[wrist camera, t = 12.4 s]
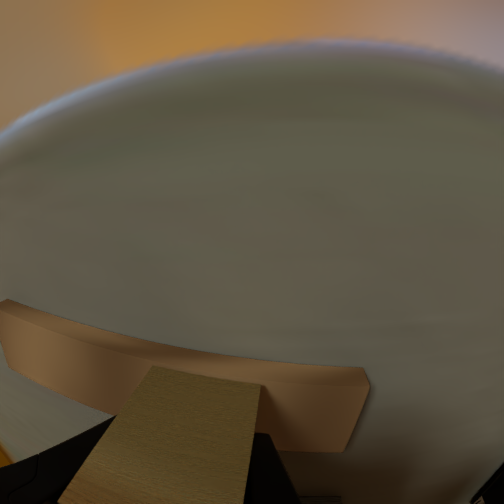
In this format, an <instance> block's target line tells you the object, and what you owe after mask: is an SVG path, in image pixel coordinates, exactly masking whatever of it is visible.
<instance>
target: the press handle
mask: <svg viewBox="0 0 504 504" xmlns="http://www.w3.org/2000/svg"><path fill="white" fill-rule="evenodd" d="M260 388H261V384H254V383H246V382H239V381H232V380H226V379H220V378H214V377H208V376H202V375H197V374H192V373H186V372H181V371H177V370H172V369H167V368H163V367H159V366H154V365H152V367H151V368H150V370H149V371H148V372H147V374H146V375H145V377H144V378H143V379H142V381H141V382H140V384H139V385H138V386H137V388H136V389H135V391H134V392H133V393H132V395H131V396H130V398H129V399H128V400H127V402H126V403H125V405H124V406H123V407H122V409H121V410H120V412H119V413H118V415H117V416H116V417H115V419H114V420H113V422H112V423H111V424H110V426H109V427H108V429H107V430H106V432H105V433H104V434H103V436H102V437H101V439H100V440H99V442H98V443H97V444H96V446H95V447H94V449H93V450H92V452H91V453H90V454H89V456H88V457H87V459H86V460H85V462H84V463H83V465H82V466H81V467H80V469H79V470H78V472H77V473H76V475H75V476H74V478H73V479H72V480H71V482H70V483H69V485H68V486H67V488H66V489H65V491H64V492H63V494H62V495H61V497H60V498H59V500H58V501H57V502H58V503H59V504H243V500H244V494H245V488H246V482H247V475H248V469H249V463H250V456H251V450H252V443H253V437H254V430H255V423H256V416H257V409H258V402H259V395H260Z"/></svg>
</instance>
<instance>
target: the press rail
mask: <svg viewBox="0 0 504 504" xmlns="http://www.w3.org/2000/svg"><path fill="white" fill-rule="evenodd" d="M0 341H1V344H2V348H3V351H4V354H5V357H6V361H7V364H8V367H9V368H11V369H13V370H15V371H16V372H18V373H20V374H22V375H24V376H25V377H27V378H29V379H31V380H33V381H35V382H37V383H39V384H41V385H43V386H45V387H47V388H49V389H51V390H53V391H55V392H57V393H59V394H62V395H64V396H66V397H68V398H70V399H73V400H75V401H77V402H80V403H82V404H85V405H87V406H90V407H92V408H95V409H97V410H100V411H103V412H105V413H108V414H111V415H114V416H115V415H117V414H118V413H119V412H120V410H121V409H122V407H123V406H124V405H125V403H126V402H127V400H128V399H129V398H130V396H131V395H132V393H133V392H134V391H135V389H136V388H137V386H138V385H139V384H140V382H141V381H142V379H143V378H144V377H145V375H146V374H147V372H148V371H149V370H150V368H151V367H152V365H154V366H159V367H163V368H167V369H172V370H177V371H181V372H186V373H192V374H197V375H202V376H208V377H214V378H220V379H226V380H232V381H239V382H246V383H254V384H261V388H260V395H259V402H258V409H257V416H256V423H255V430H254V433H256V432H259V433H267V434H269V435H270V436H271V438H272V441H273V443H274V445H275V447H276V450H279V451H294V452H319V453H343V451H344V449H345V447H346V445H347V443H348V440H349V438H350V436H351V434H352V431H353V429H354V427H355V424H356V422H357V420H358V417H359V415H360V412H361V410H362V407H363V405H364V402H365V399H366V397H367V394H368V391H369V389H370V385H369V382H368V379H367V377H366V374H365V372H364V369H363V368H357V367H334V366H318V365H305V364H293V363H283V362H273V361H264V360H256V359H248V358H241V357H234V356H227V355H220V354H214V353H208V352H202V351H196V350H191V349H185V348H180V347H175V346H170V345H165V344H160V343H155V342H151V341H146V340H142V339H138V338H133V337H129V336H125V335H121V334H117V333H113V332H109V331H105V330H102V329H98V328H94V327H91V326H87V325H84V324H80V323H77V322H74V321H70V320H67V319H64V318H61V317H58V316H54V315H51V314H48V313H45V312H42V311H39V310H37V309H34V308H31V307H28V306H25V305H23V304H20V303H17V302H14V301H12V300H9V299H6V300H4V301H2V302H0Z"/></svg>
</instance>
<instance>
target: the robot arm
mask: <svg viewBox="0 0 504 504" xmlns="http://www.w3.org/2000/svg"><path fill="white" fill-rule="evenodd" d="M117 415H118V414H117ZM117 415H115V416H113V417H112V418H110V419H108V420H106V421H104V422H102V423H100V424H98V425H96V426H94V427H92V428H91V429H89V430H87V431H85V432H83V433H81V434H79V435H77V436H75V437H73V438H70V439H68V440H66V441H64V442H62V443H60V444H58V445H56V446H54V447H52V448H49V449H47V450H45V451H43V452H41V453H39V455H38V454H36V455H34V456H31V457H29V458H27V459H24V460H22V461H19V462H16V463H14V464H10V465H7V466H4V467H1V468H0V504H59V503H58V502H57V501H58V500H59V498H60V497H61V495H62V494H63V492H64V491H65V489H66V488H67V486H68V485H69V483H70V482H71V480H72V479H73V478H74V476H75V475H76V473H77V472H78V470H79V469H80V467H81V466H82V465H83V463H84V462H85V460H86V459H87V457H88V456H89V454H90V453H91V452H92V450H93V449H94V447H95V446H96V444H97V443H98V442H99V440H100V439H101V437H102V436H103V434H104V433H105V432H106V430H107V429H108V427H109V426H110V424H111V423H112V422H113V420H114V419H115V417H116V416H117ZM483 502H484V503H485V504H504V465H503V467H502V468H501V469H500V470H499V471H498V473H497V474H496V475H495V476H494V477H493V478H492V479H491V481H490V482H489V483H488V484H487V485H486V486H485V487H484V488H483V489H482V490H481V491H480V493H479V494H478V495H477V496H476V497H475V498H474V499H473V500H472V501H471V504H480V503H483ZM243 504H302V502H301V500H300V498H299V496H298V494H297V492H296V490H295V488H294V486H293V484H292V482H291V480H290V478H289V475H288V473H287V471H286V469H285V467H284V465H283V463H282V460H281V458H280V456H279V454H278V452H277V450H276V447H275V445H274V443H273V441H272V438H271V436H270V435H269V434H267V433H259V432H256V433H254V437H253V443H252V450H251V456H250V463H249V469H248V475H247V482H246V488H245V494H244V501H243Z"/></svg>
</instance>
